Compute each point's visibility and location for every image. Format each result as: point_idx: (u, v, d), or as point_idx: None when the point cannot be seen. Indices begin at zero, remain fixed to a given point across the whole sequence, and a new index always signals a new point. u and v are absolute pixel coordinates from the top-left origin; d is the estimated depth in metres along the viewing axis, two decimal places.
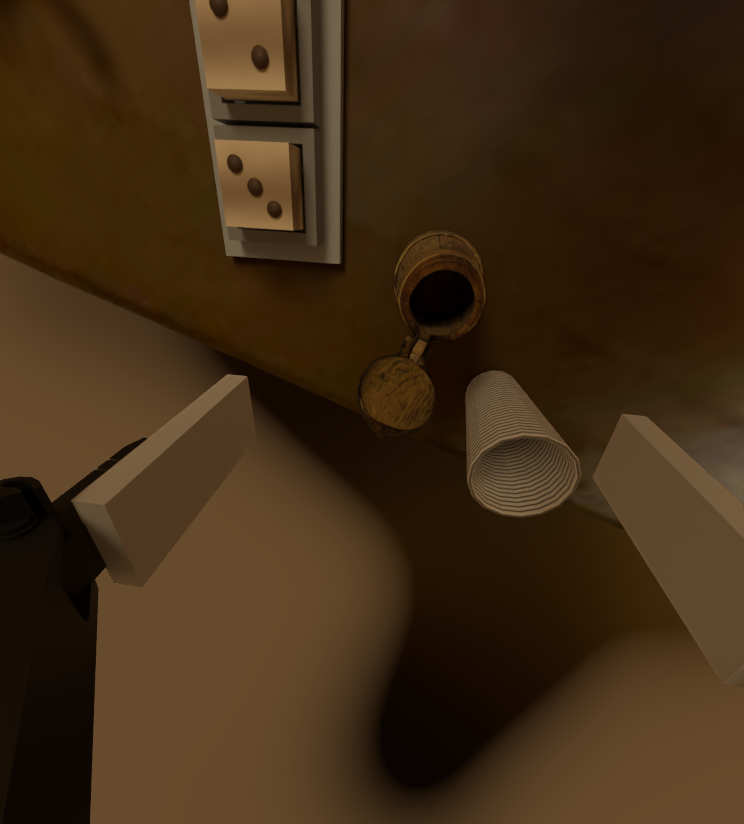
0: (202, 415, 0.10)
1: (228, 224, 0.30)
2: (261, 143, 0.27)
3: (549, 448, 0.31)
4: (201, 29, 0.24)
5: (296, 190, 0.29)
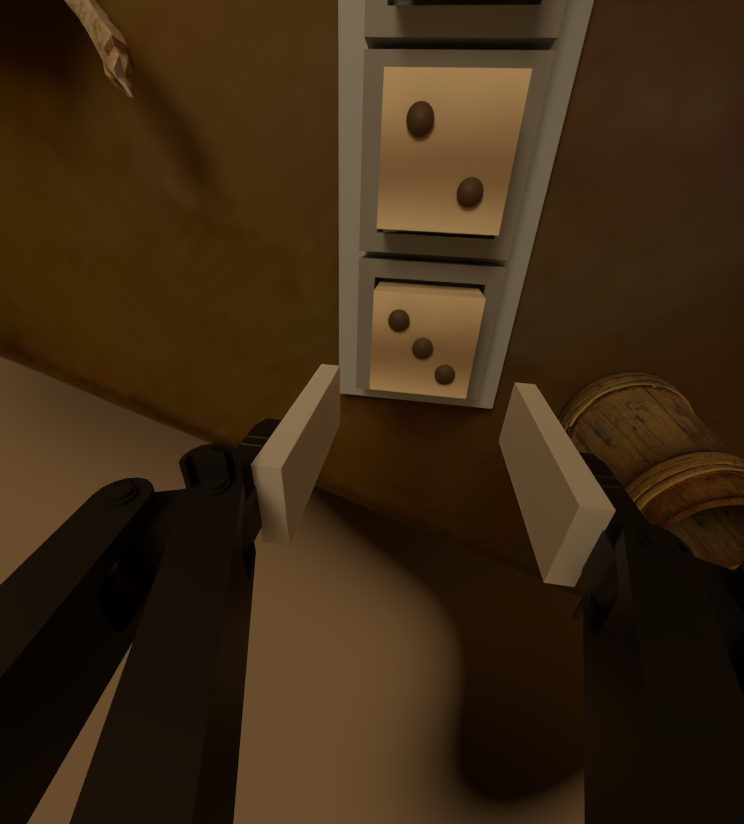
0: (319, 398, 0.11)
1: (372, 387, 0.22)
2: (444, 298, 0.19)
3: None
4: (384, 153, 0.16)
5: None
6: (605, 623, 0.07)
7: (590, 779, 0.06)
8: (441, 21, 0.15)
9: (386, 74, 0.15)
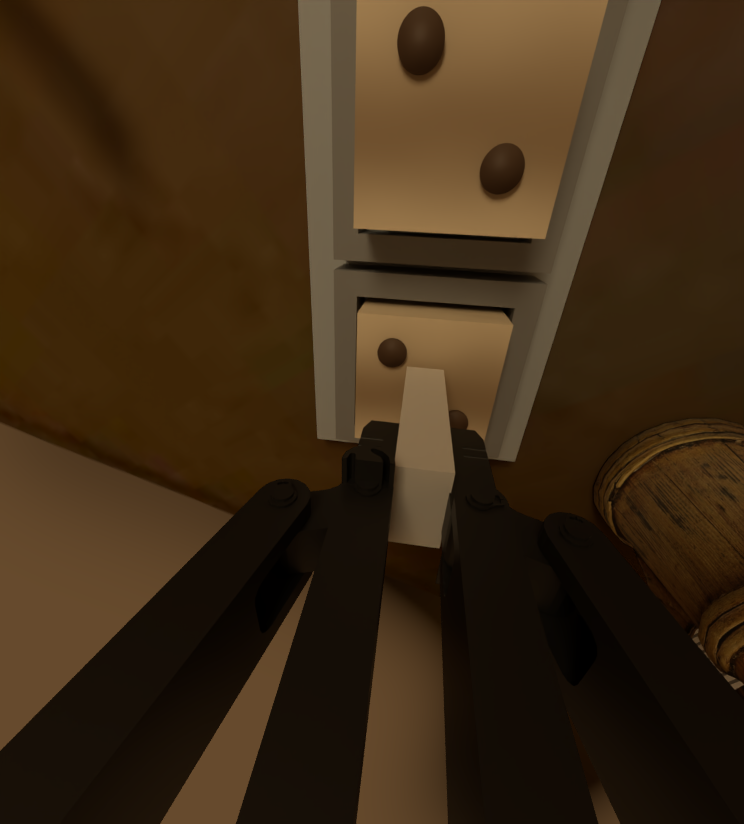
0: (423, 400, 0.12)
1: (359, 435, 0.17)
2: (455, 323, 0.13)
3: None
4: (361, 104, 0.10)
5: None
6: (449, 585, 0.07)
7: (447, 737, 0.06)
8: None
9: None
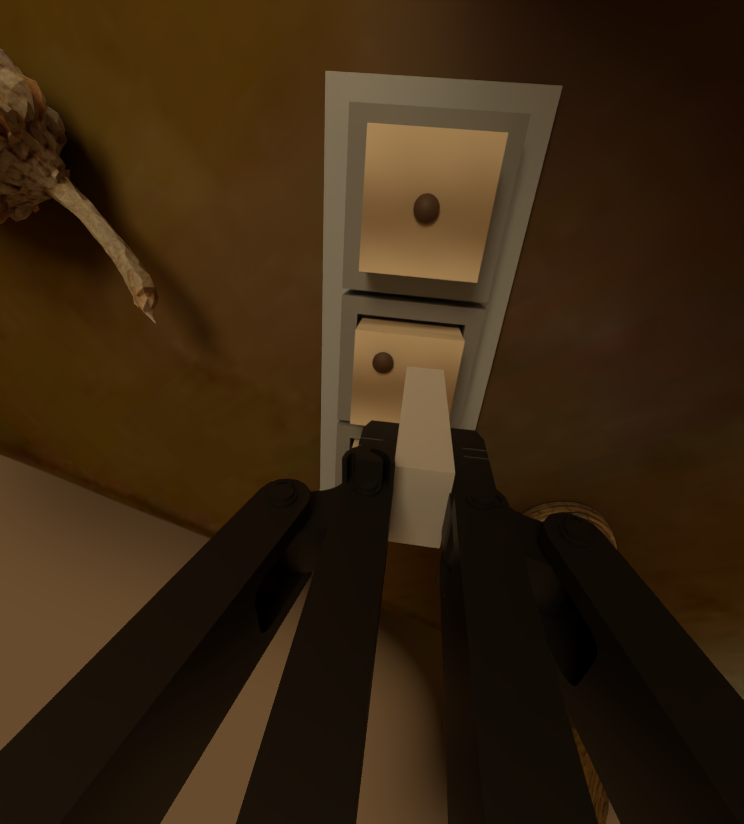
0: (423, 400, 0.12)
1: None
2: None
3: None
4: (355, 378, 0.21)
5: None
6: (449, 585, 0.07)
7: (447, 737, 0.06)
8: (400, 285, 0.20)
9: (357, 333, 0.19)
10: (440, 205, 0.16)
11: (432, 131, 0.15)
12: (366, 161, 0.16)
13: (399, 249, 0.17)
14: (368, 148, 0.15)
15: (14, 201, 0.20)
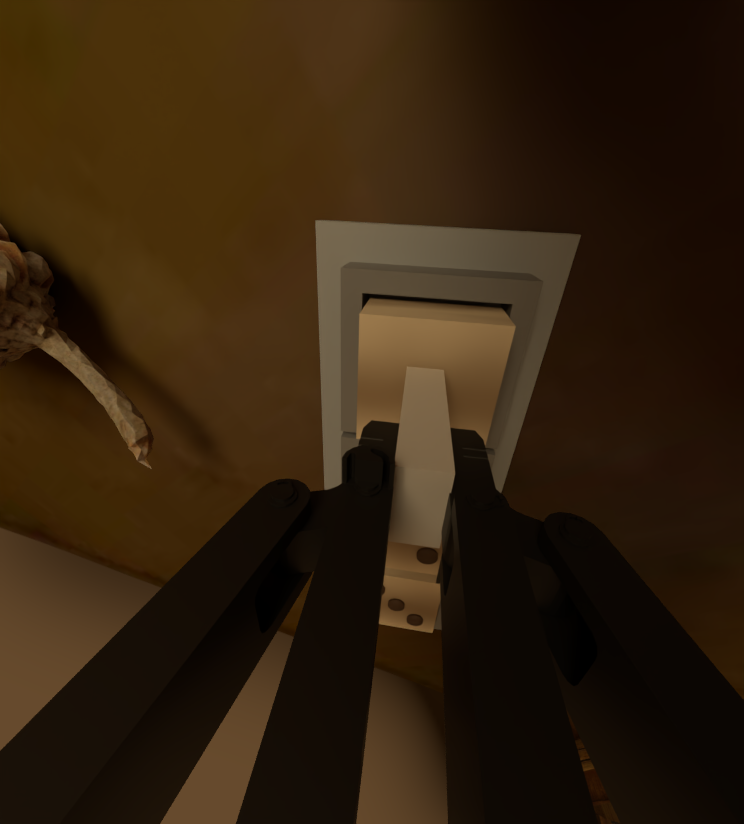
0: (423, 400, 0.12)
1: None
2: (411, 580, 0.24)
3: None
4: None
5: None
6: (449, 584, 0.07)
7: (447, 736, 0.06)
8: None
9: None
10: None
11: (431, 323, 0.14)
12: (360, 347, 0.14)
13: (398, 422, 0.16)
14: (361, 336, 0.14)
15: (4, 357, 0.19)
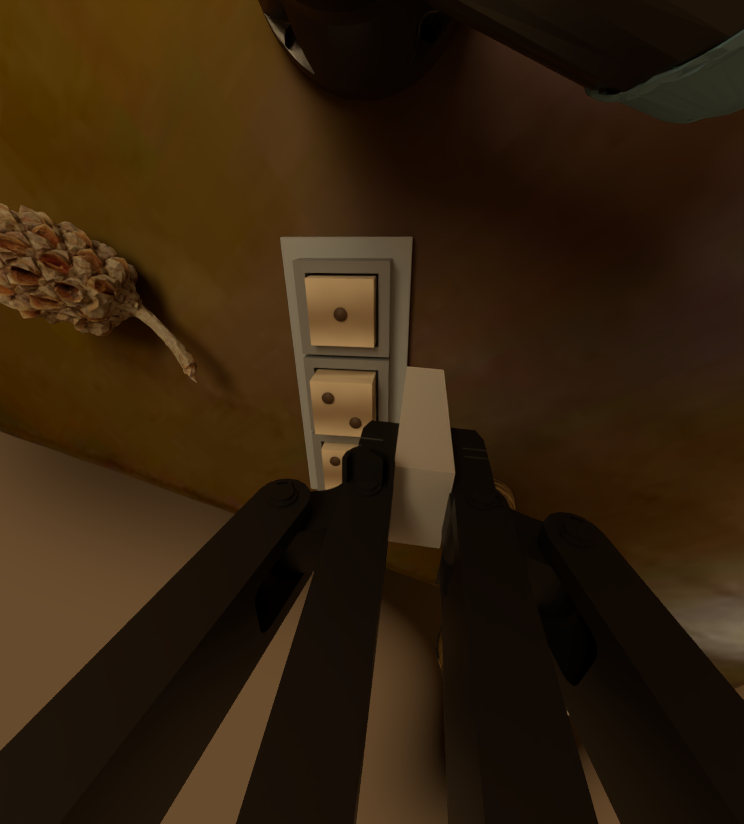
0: (423, 400, 0.12)
1: None
2: None
3: None
4: (314, 407, 0.35)
5: None
6: (449, 585, 0.07)
7: (447, 737, 0.06)
8: (336, 350, 0.34)
9: (310, 383, 0.33)
10: (347, 312, 0.31)
11: (336, 280, 0.30)
12: (306, 294, 0.31)
13: (330, 333, 0.32)
14: (306, 289, 0.30)
15: (115, 321, 0.34)
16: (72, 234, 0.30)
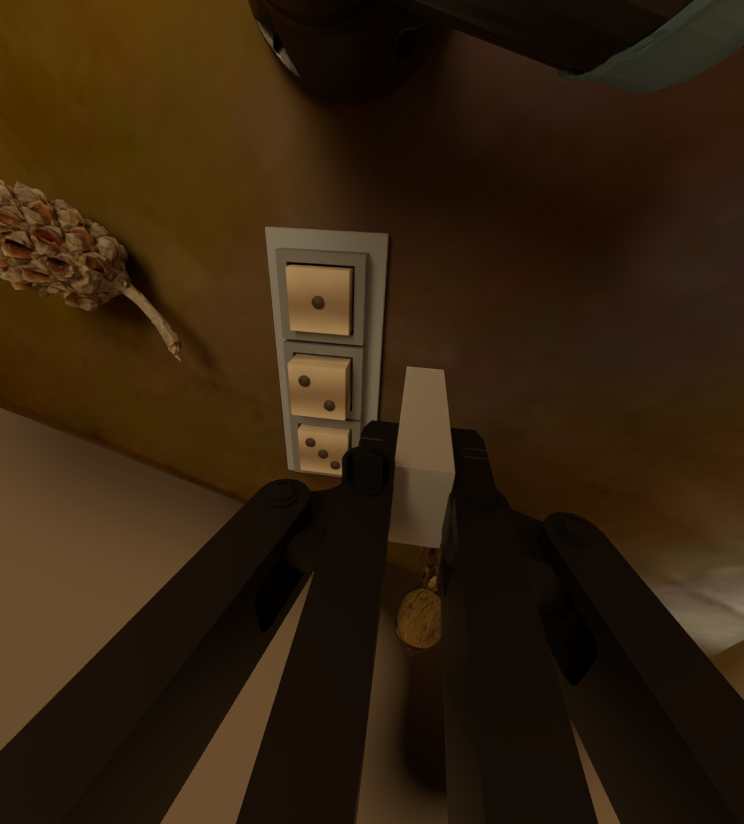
0: (423, 400, 0.12)
1: (302, 469, 0.44)
2: (329, 434, 0.41)
3: None
4: (291, 389, 0.37)
5: (349, 449, 0.43)
6: (449, 585, 0.07)
7: (447, 737, 0.06)
8: (314, 336, 0.36)
9: (288, 366, 0.35)
10: (324, 301, 0.33)
11: (315, 270, 0.32)
12: (287, 282, 0.33)
13: (308, 320, 0.34)
14: (287, 277, 0.33)
15: (104, 298, 0.36)
16: (66, 212, 0.32)
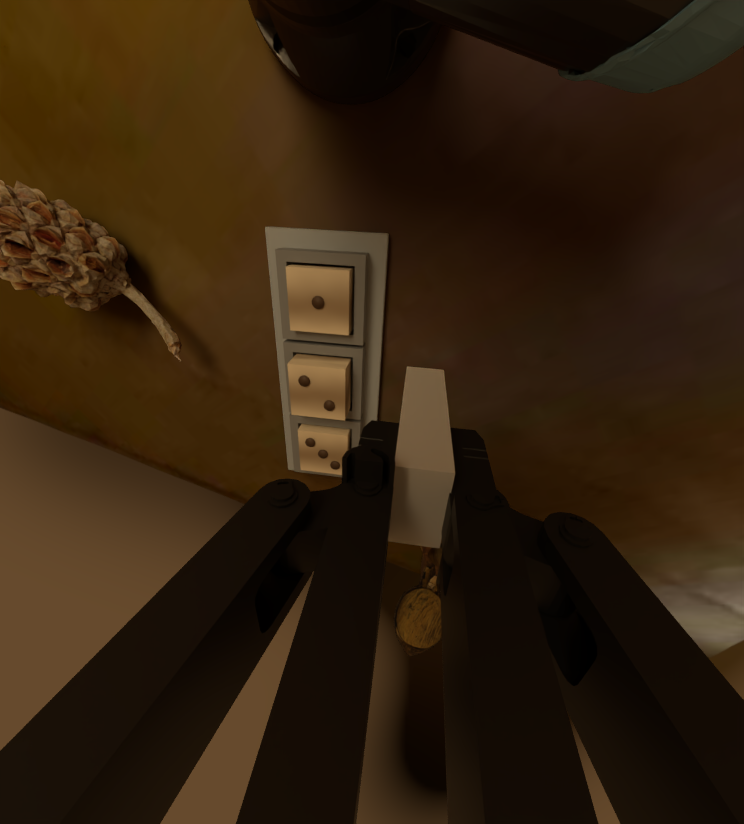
0: (423, 400, 0.12)
1: (302, 469, 0.44)
2: (329, 434, 0.41)
3: None
4: (291, 389, 0.37)
5: (349, 449, 0.43)
6: (449, 585, 0.07)
7: (447, 737, 0.06)
8: (314, 336, 0.36)
9: (288, 366, 0.35)
10: (324, 301, 0.33)
11: (315, 270, 0.32)
12: (287, 282, 0.33)
13: (308, 320, 0.34)
14: (287, 277, 0.33)
15: (104, 298, 0.36)
16: (65, 212, 0.32)
